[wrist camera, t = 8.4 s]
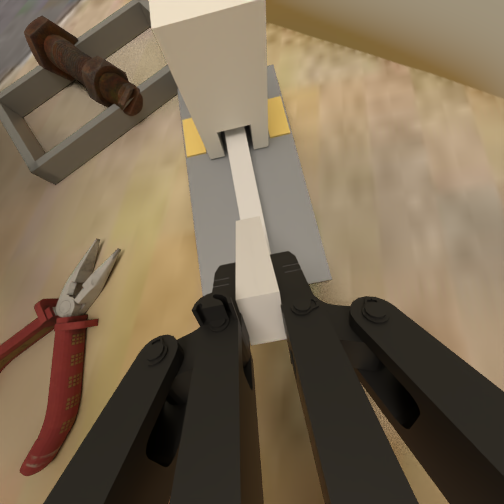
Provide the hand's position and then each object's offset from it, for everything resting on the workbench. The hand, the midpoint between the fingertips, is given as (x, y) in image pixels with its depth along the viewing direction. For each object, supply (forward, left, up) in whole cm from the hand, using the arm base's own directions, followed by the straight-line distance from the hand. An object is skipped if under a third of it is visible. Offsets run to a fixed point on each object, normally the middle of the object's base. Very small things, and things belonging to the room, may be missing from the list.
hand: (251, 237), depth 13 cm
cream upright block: (-13, +7, -6) cm, 16 cm away
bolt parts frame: (-30, -1, -7) cm, 31 cm away
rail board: (-8, +5, -7) cm, 12 cm away
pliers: (-5, -21, -8) cm, 23 cm away
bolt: (-30, -1, -7) cm, 31 cm away
